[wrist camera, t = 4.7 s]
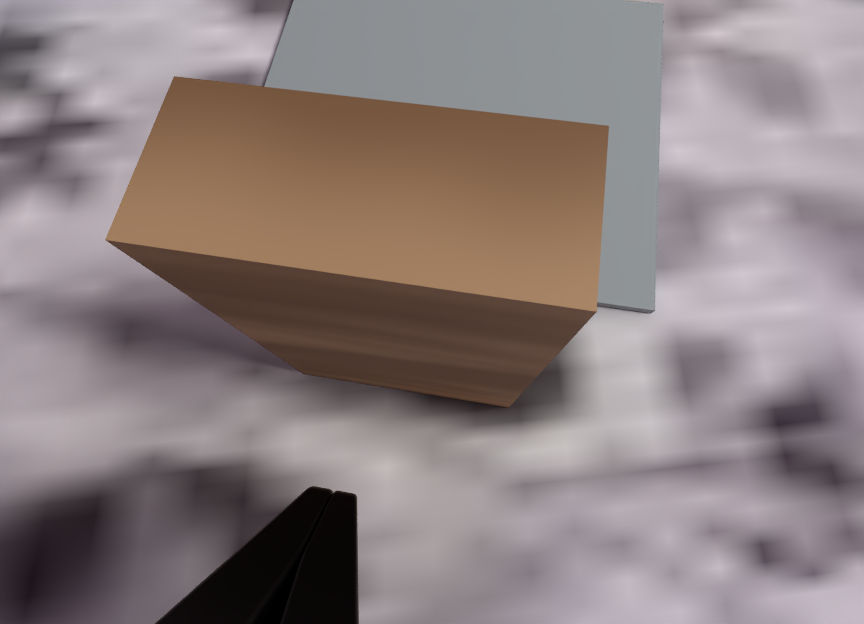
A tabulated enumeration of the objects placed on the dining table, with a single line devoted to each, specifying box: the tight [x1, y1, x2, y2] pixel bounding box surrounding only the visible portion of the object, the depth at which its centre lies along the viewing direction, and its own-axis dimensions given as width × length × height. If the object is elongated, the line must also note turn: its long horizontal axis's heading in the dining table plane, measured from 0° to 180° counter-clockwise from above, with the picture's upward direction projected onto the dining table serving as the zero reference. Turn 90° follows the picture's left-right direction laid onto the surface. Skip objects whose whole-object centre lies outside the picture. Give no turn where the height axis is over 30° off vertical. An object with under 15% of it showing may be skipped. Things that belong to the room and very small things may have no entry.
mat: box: [264, 0, 664, 313], centre depth 19 cm, size 14×16×1 cm
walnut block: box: [106, 76, 609, 408], centre depth 12 cm, size 3×7×10 cm, turn 80°
